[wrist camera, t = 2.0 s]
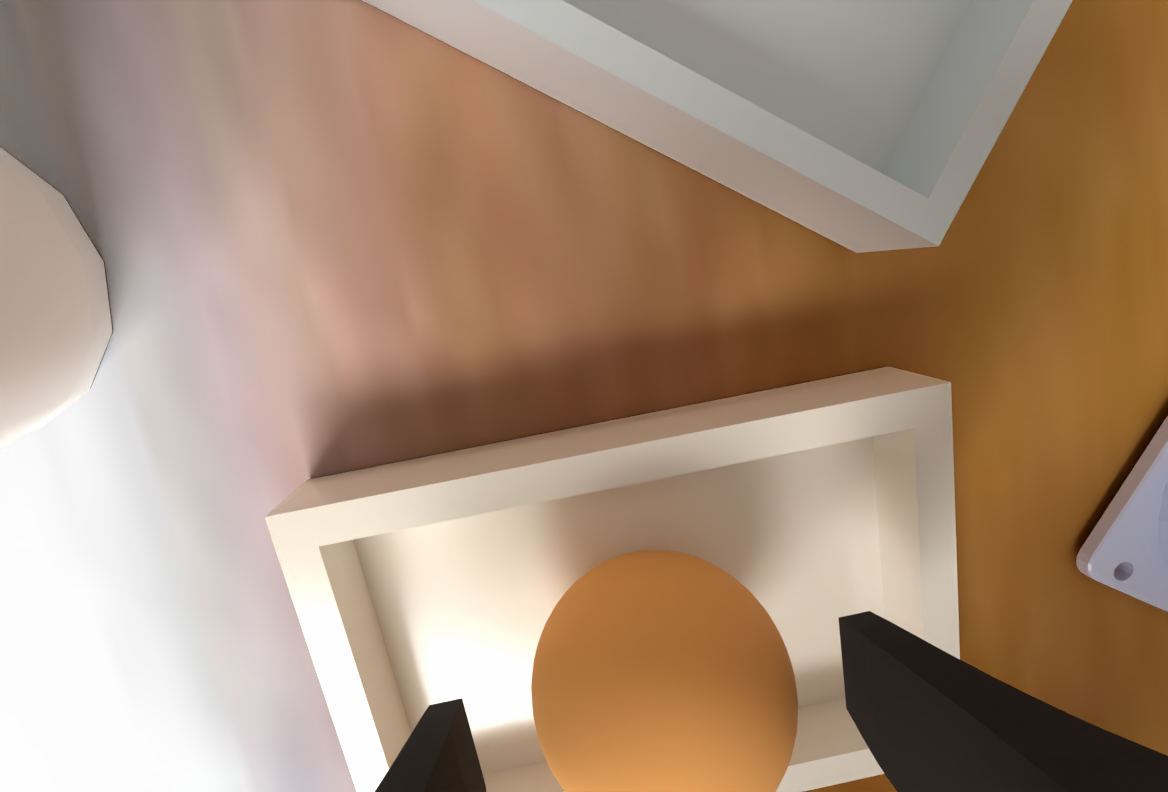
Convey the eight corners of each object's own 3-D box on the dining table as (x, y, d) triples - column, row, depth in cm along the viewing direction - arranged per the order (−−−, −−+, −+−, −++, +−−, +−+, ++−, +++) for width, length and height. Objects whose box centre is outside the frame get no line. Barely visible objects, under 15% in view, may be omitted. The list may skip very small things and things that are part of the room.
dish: (889, 366, 13) (951, 381, 11) (907, 693, 15) (963, 756, 13) (308, 479, 12) (264, 517, 10) (408, 800, 14) (387, 882, 12)
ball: (776, 554, 13) (915, 719, 8) (685, 722, 14) (761, 963, 9) (586, 478, 12) (614, 609, 7) (500, 660, 13) (475, 887, 8)
